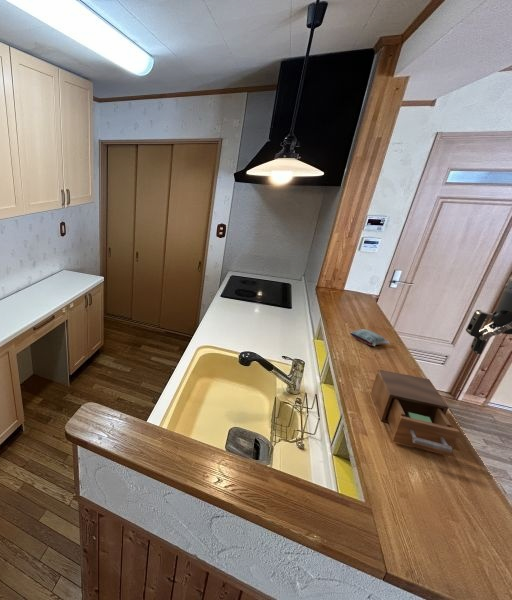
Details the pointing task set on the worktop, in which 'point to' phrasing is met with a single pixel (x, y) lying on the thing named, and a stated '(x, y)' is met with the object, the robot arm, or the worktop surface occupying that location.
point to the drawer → (421, 427)
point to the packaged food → (369, 337)
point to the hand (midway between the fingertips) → (501, 356)
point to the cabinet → (403, 392)
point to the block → (419, 417)
